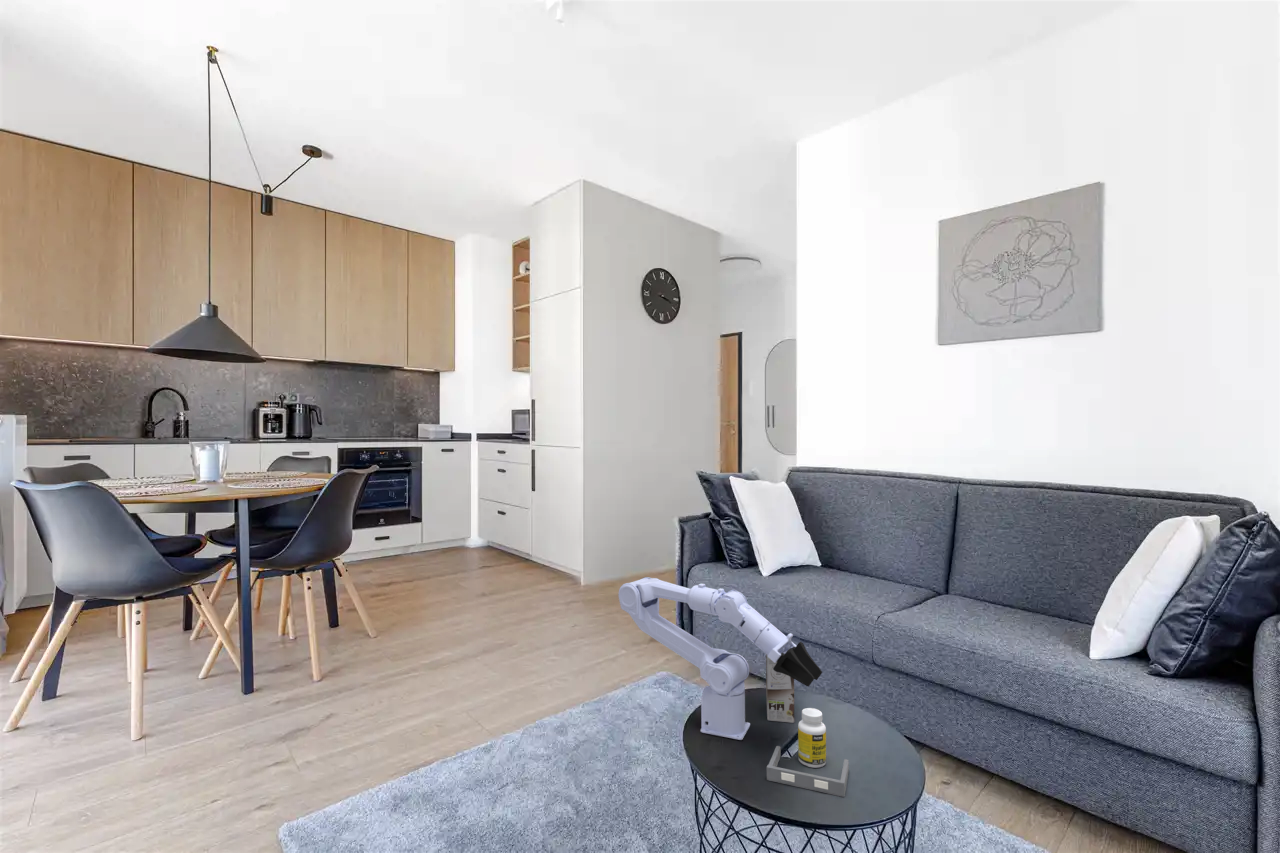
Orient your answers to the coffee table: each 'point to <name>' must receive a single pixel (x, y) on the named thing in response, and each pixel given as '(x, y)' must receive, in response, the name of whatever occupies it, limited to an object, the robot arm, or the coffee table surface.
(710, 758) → the coffee table surface
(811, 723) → the supplement bottle
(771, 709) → the coffee box
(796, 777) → the rail
